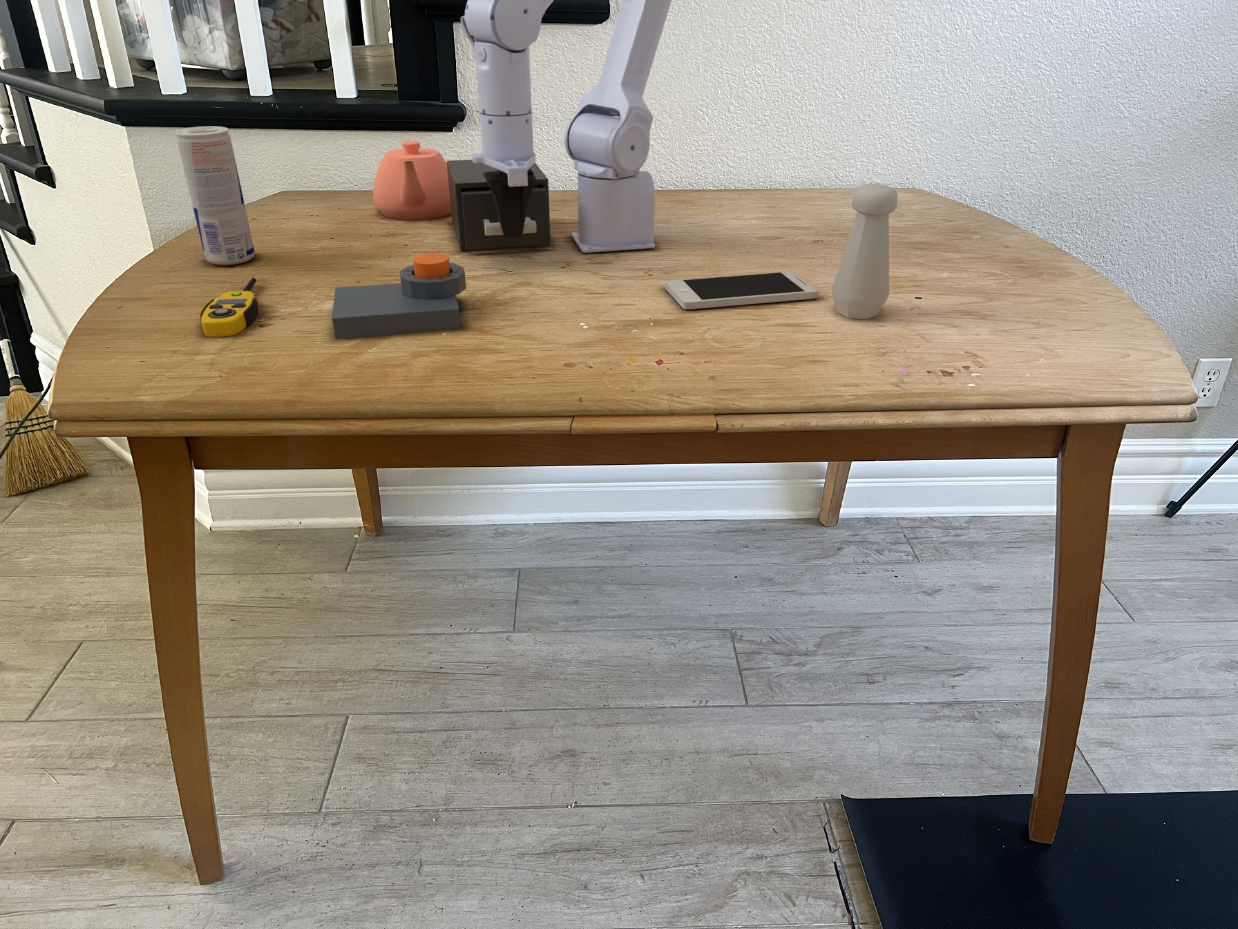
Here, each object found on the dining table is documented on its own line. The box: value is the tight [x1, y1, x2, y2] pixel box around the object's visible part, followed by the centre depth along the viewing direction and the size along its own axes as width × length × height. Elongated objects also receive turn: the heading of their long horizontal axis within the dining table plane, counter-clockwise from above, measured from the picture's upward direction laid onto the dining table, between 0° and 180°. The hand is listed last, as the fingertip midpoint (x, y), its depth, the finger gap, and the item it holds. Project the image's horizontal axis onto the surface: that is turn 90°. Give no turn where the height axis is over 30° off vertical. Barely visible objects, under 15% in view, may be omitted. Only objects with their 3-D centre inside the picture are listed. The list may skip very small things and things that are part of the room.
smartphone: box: [664, 270, 819, 310], centre depth 94 cm, size 7×15×1 cm, turn 105°
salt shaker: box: [831, 183, 899, 320], centre depth 87 cm, size 6×6×13 cm
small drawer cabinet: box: [446, 159, 551, 253], centre depth 112 cm, size 13×11×8 cm
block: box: [331, 262, 467, 340], centre depth 87 cm, size 13×10×4 cm
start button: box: [412, 252, 450, 278], centre depth 88 cm, size 4×4×2 cm
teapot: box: [372, 140, 451, 220], centre depth 121 cm, size 12×18×10 cm
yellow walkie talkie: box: [199, 277, 259, 338], centre depth 89 cm, size 5×2×15 cm
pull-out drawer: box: [461, 185, 549, 250], centre depth 108 cm, size 17×10×7 cm, turn 14°
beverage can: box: [174, 125, 256, 266], centre depth 100 cm, size 6×6×15 cm
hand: (512, 235), depth 100 cm, fingers closed
